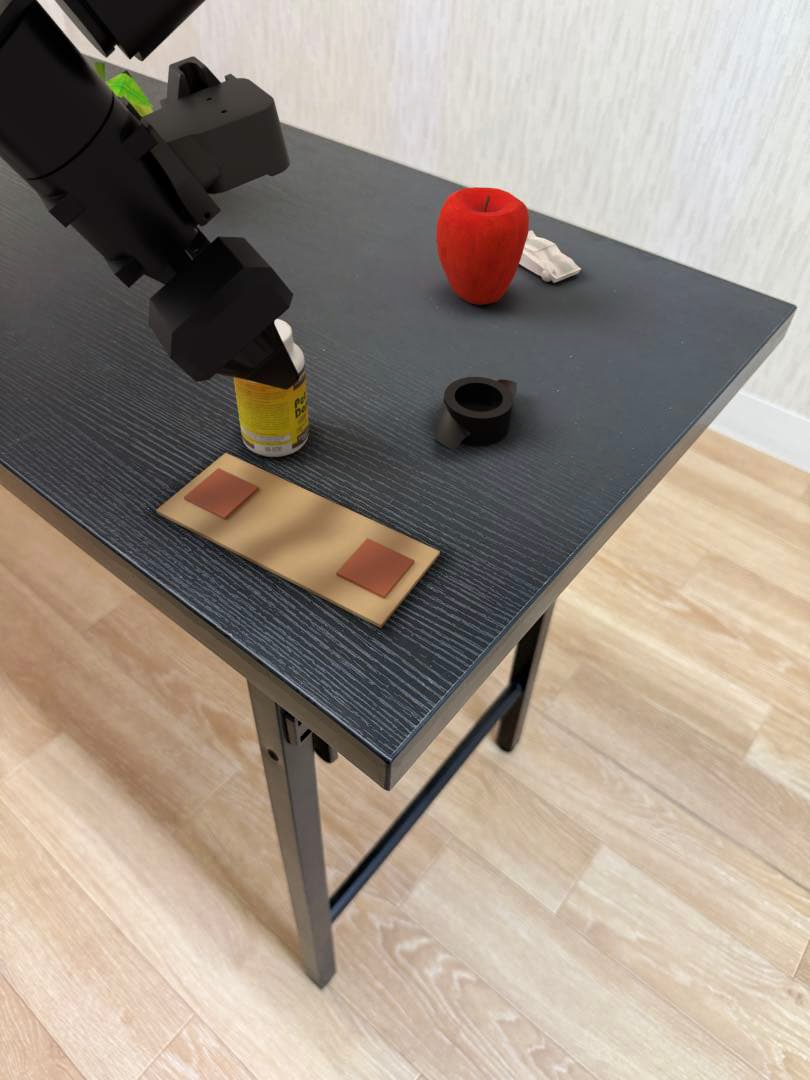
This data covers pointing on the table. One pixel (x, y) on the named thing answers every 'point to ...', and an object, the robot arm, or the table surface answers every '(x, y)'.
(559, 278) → the toy car
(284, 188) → the table surface
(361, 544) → the wood board
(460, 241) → the apple
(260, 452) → the supplement bottle
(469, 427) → the black hollow round piece
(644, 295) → the table surface
